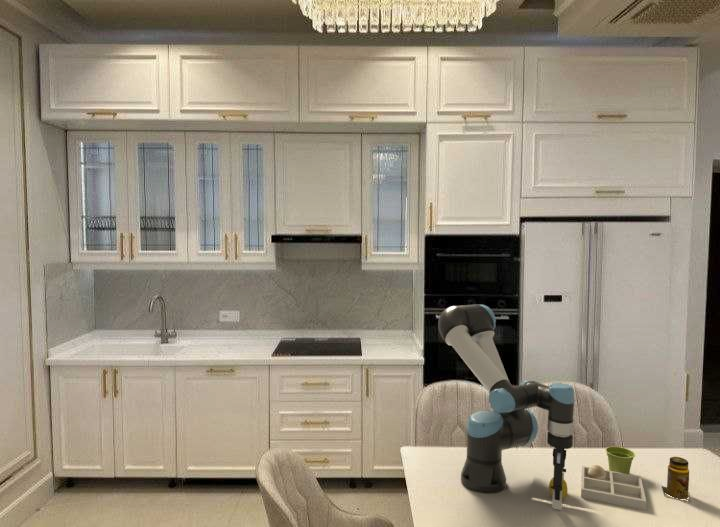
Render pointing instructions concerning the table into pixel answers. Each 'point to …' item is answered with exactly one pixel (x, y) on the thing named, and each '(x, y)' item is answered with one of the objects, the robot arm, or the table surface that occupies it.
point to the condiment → (677, 479)
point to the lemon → (564, 488)
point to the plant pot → (619, 459)
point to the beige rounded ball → (597, 472)
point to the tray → (614, 489)
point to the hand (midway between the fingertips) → (557, 500)
